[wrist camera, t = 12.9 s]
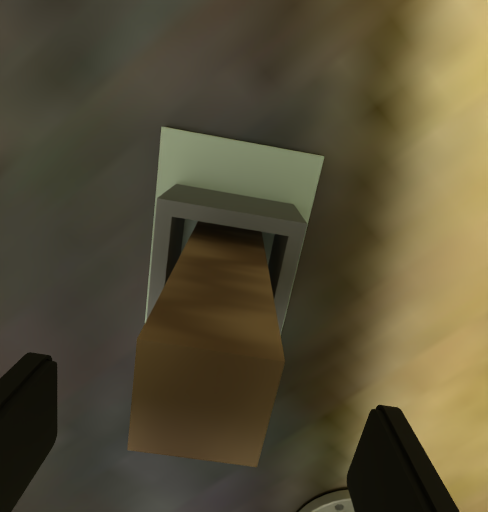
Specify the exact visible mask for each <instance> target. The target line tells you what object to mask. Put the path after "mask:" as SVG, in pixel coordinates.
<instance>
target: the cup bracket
mask: <svg viewBox="0 0 488 512" xmlns="http://www.w3.org/2000/svg"><path fill="white" fill-rule="evenodd" d="M323 160H324V156H321V155H316V154H310V153H305V152H299V151H294V150H288V149H283V148H277V147H272V146H266V145H261V144H256V143H250V142H245V141H239V140H234V139H228V138H223V137H217V136H212V135H206V134H201V133H196V132H190V131H185V130H179V129H174V128H168V127H162V128H161V140H160V152H159V163H158V175H157V187H156V199H155V210H154V222H153V234H152V246H151V257H150V269H149V281H148V293H147V305H146V316H145V323H146V321H147V319H148V317H149V315H150V313H151V311H152V309H153V307H154V305H155V303H156V301H157V300H158V298H159V296H160V294H161V292H162V290H163V288H164V286H165V284H166V282H167V280H168V278H169V276H170V274H171V272H172V270H173V269H174V267H175V265H176V263H177V261H178V259H179V257H180V255H181V253H182V251H183V249H184V247H185V245H186V243H187V241H188V239H189V238H190V236H191V234H192V232H193V230H194V228H195V226H196V224H197V222H198V221H201V222H207V223H213V224H219V225H225V226H231V227H237V228H243V229H249V230H255V231H261V232H262V237H263V242H264V248H265V253H266V259H267V264H268V270H269V275H270V281H271V286H272V292H273V297H274V303H275V308H276V314H277V320H278V325H279V331H280V336H281V332H282V328H283V323H284V319H285V315H286V311H287V307H288V303H289V299H290V295H291V291H292V287H293V283H294V279H295V274H296V270H297V266H298V262H299V258H300V254H301V250H302V246H303V242H304V238H305V234H306V230H307V225H308V221H309V217H310V213H311V209H312V205H313V201H314V197H315V193H316V189H317V185H318V181H319V176H320V172H321V168H322V164H323Z"/></svg>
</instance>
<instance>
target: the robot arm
mask: <svg viewBox="0 0 488 512" xmlns="http://www.w3.org/2000/svg"><path fill="white" fill-rule="evenodd" d="M56 437H57V363H56V362H55V361H52V358H51V356H49V355H44V354H37V353H31V352H30V353H27V354H26V355H24V356H23V357H22V358H21V359H20V360H19V361H18V362H17V363H16V364H15V365H14V366H13V367H12V368H11V369H10V370H9V371H8V372H7V373H6V374H4V375H3V376H2V377H1V378H0V512H11V511H12V510H13V508H14V507H15V505H16V503H17V502H18V500H19V499H20V497H21V496H22V494H23V493H24V491H25V489H26V488H27V486H28V485H29V483H30V482H31V480H32V478H33V477H34V475H35V474H36V472H37V471H38V469H39V467H40V466H41V464H42V463H43V461H44V460H45V458H46V456H47V455H48V453H49V452H50V450H51V449H52V447H53V445H54V443H55V440H56ZM347 487H348V490H341V491H336V492H332V493H329V494H326V495H323V496H321V497H319V498H317V499H315V500H313V501H312V502H310V503H308V504H307V505H305V506H304V507H303V508H302V509H301V510H300V511H299V512H459V510H458V508H457V506H456V505H455V503H454V501H453V499H452V498H451V496H450V494H449V492H448V491H447V489H446V487H445V485H444V484H443V482H442V480H441V479H440V477H439V475H438V473H437V472H436V470H435V468H434V466H433V465H432V463H431V461H430V459H429V458H428V456H427V454H426V452H425V451H424V449H423V447H422V445H421V444H420V442H419V440H418V438H417V437H416V435H415V433H414V432H413V430H412V428H411V426H410V425H409V423H408V421H407V419H406V418H405V416H404V414H403V412H402V411H401V410H400V409H399V408H397V407H391V406H384V405H378V406H377V407H376V409H372V410H371V411H370V413H369V416H368V419H367V422H366V424H365V427H364V430H363V432H362V435H361V438H360V441H359V443H358V446H357V449H356V452H355V454H354V457H353V460H352V463H351V465H350V468H349V471H348V474H347Z"/></svg>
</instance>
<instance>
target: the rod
mask: <svg viewBox="0 0 488 512" xmlns="http://www.w3.org/2000/svg"><path fill="white" fill-rule="evenodd" d="M284 364H285V358H284V353H283V347H282V342H281V336H280V331H279V325H278V320H277V314H276V308H275V303H274V297H273V292H272V286H271V281H270V275H269V270H268V264H267V259H266V253H265V248H264V242H263V237H262V232H261V231H255V230H249V229H243V228H237V227H231V226H225V225H219V224H213V223H207V222H201V221H198V222H197V224H196V226H195V228H194V230H193V232H192V234H191V236H190V238H189V239H188V241H187V243H186V245H185V247H184V249H183V251H182V253H181V255H180V257H179V259H178V261H177V263H176V265H175V267H174V269H173V270H172V272H171V274H170V276H169V278H168V280H167V282H166V284H165V286H164V288H163V290H162V292H161V294H160V296H159V298H158V300H157V301H156V303H155V305H154V307H153V309H152V311H151V313H150V315H149V317H148V319H147V321H146V323H145V325H144V327H143V329H142V331H141V332H140V334H139V336H138V338H137V346H136V358H135V369H134V381H133V392H132V404H131V415H130V427H129V438H128V450H131V451H139V452H147V453H154V454H162V455H169V456H177V457H184V458H192V459H200V460H207V461H215V462H222V463H230V464H237V465H245V466H253V467H257V464H258V461H259V457H260V453H261V450H262V446H263V442H264V438H265V435H266V431H267V427H268V423H269V420H270V416H271V412H272V409H273V405H274V401H275V397H276V394H277V390H278V386H279V382H280V379H281V375H282V371H283V367H284Z"/></svg>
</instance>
